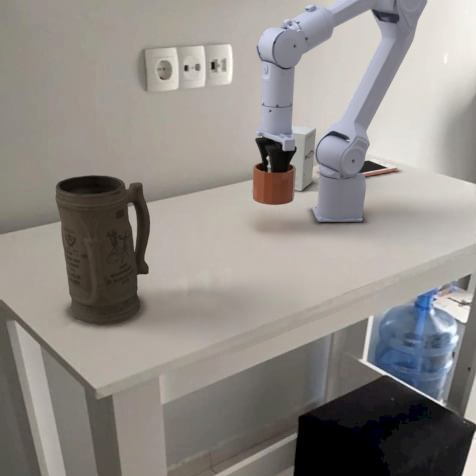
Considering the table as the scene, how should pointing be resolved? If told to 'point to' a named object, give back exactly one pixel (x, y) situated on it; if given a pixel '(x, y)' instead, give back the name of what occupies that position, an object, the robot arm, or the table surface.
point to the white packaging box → (303, 155)
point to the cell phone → (376, 167)
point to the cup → (273, 185)
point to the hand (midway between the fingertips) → (274, 179)
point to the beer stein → (102, 246)
